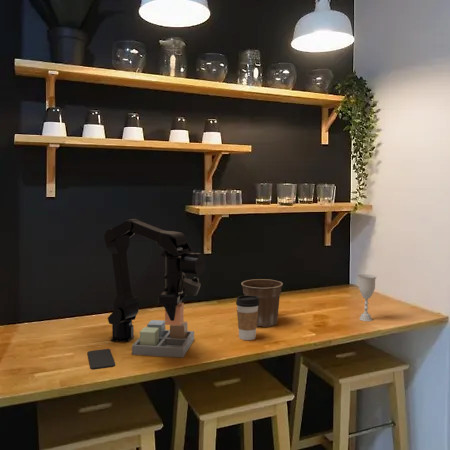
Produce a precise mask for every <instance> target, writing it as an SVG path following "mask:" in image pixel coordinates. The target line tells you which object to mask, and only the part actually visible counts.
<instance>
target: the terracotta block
mask: <svg viewBox="0 0 450 450" xmlns="http://www.w3.org/2000/svg"><path fill="white" fill-rule="evenodd" d="M184 304H185V303H184V302H181V303H179V304H178V305H177V306H176V313H175V318H174V321H171V320H170V318H169V316H168V314H167V312H166V310H165V309H164V311H165V312H164V321H165V326H167V325H168V326H170V325H181V324H182V322H185V321H184V314H185V311H184V309H185V308H184V307H185V306H184Z"/></svg>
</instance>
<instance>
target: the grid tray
mask: <svg viewBox="0 0 450 450" xmlns="http://www.w3.org/2000/svg"><path fill="white" fill-rule="evenodd" d="M194 341H195V331H193V330H188V321H183V322H182V324H181V325H169V329H166V325H165V320H157V319H151V320H150V321H149V322H148V323H147V324H146V326H144V327H142V329H141V330H140V331H139V338H138V339H136V341H135V342H134V343H133V344H132V345H131V355H132V356H133V355H134V356H135V355H136V356H147V357H164V358H165V357H168V358H184V357H185V356H186V354H187V352H188V351H189V349H190V347H191V346H192V344H193V342H194Z"/></svg>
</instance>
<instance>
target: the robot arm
mask: <svg viewBox="0 0 450 450" xmlns="http://www.w3.org/2000/svg"><path fill="white" fill-rule="evenodd" d="M135 234H136V235H138V236H141V237H143V238H145V239H148V240H151V241H153V242H155V243H156V244H158V246H159V247H160V248H161V249H163V250H164V251H162V253H160V254H159V257H161V258H165V274H164V275H163V279H164V280H165V286H164V288H163V291H162V293H161V294H159V295H158V297H157V303H158V304H161V305H162V306H163V307H164V311H165V310H166V312H167V314H168V316H169V318H170V320H171V321H174V318H175V313H176V306H177V305H178V304H179V303H182V301H183V299H184V298H185V297H186V296H187V294H191V295H192V296H194V297H195V296H197V295H198V294H199V292H200V288H201V286H202V285H201V282H200V279H199V277H196V276H195V275H197V276H201V275H203V274H204V271H205V270H206V269H205V268H206V262H205V259H204V257H202V256H203V255H202V253H201V252H196V253H195V252H194V251H193V249H192V247H191V246H190V244H189V242H188V241H187V238H186V236H185V234H184V233H183V232H180V231H173V230H164V229H162V228H159V227H157V226H153V225H151V224H148V223H146V222H144V221H140V220H139V219H137V218H132V219H126V220H125V221H124V222H122V223H121V224H118V225H116V226H114V227H112V228H109V229H107V230H106V231H105V233H104V241H105V242H104V243H105V245H106V246H105V247H106V248H107V250H108V251H109V252H110V253H111V258H112V264H113V273H114V279H115V281H114V282H115V283H114V284H115V289H116V296H115V298H114V301H113V311H112V313H110V315H108V317H107V321H108V324H110V325H112V326H111V327H112V329H111V330H112V331H111V332H112V337H111V338H110V341H112V342H127V343H128V342H129V341H130V340H131V339H132V338H134V336H135V334H134V333H135V331H134V324H133V321H134V320H136V317H137V315H138V313H139V309H140V304H139V298H138V297H139V296H134V294H133V293H132V290H131V289H132V288H131V282H130V281H131V279H130V272H129V265H128V263H129V262H128V256H127V251H128V249H129V246H130V238H131V237H133V236H134V235H135ZM186 274H189V275H194V277H193V278H192V279H191V278H187V277H186Z"/></svg>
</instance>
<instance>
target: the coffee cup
mask: <svg viewBox="0 0 450 450" xmlns="http://www.w3.org/2000/svg"><path fill="white" fill-rule="evenodd" d="M235 305H236V316H237V326H238V337H239V339H241V340H243V341H252V340H255V339H256V338H257V337H256V336H257V335H256V334H257V328H258V327H257V318H258V305H259V298H258V296H249V295H239V296H237V297H236V301H235Z"/></svg>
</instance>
